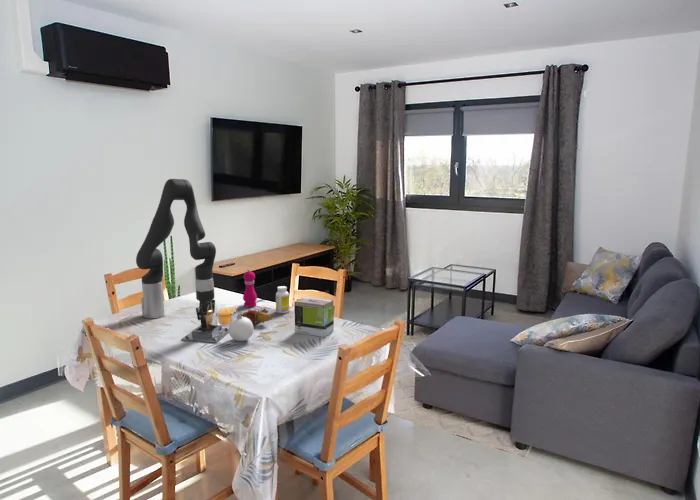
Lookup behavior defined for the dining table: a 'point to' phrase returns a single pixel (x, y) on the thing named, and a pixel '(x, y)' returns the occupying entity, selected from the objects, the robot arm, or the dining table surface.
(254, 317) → the scarecrow
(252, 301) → the pepper mill
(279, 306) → the supplement bottle
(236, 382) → the dining table surface
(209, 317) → the round knob
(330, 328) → the tea box
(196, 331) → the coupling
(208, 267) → the robot arm
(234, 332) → the ornament
